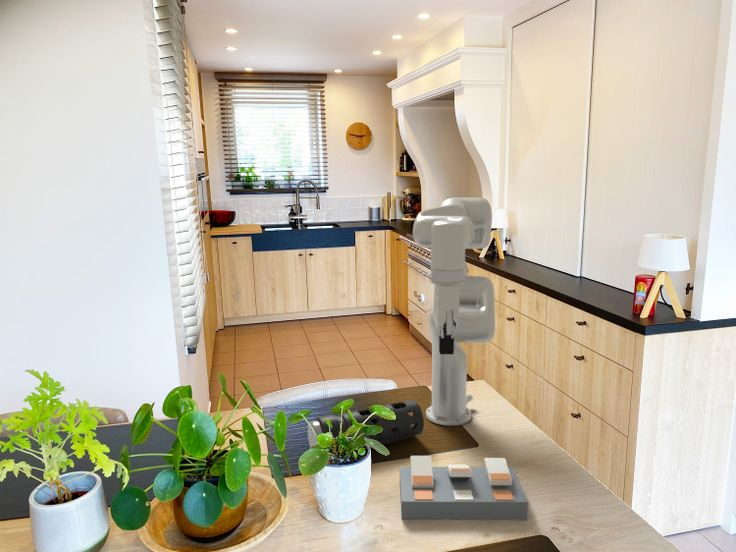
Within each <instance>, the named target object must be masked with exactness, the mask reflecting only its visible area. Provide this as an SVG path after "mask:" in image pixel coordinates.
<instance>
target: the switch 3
mask: <svg viewBox="0 0 736 552" xmlns="http://www.w3.org/2000/svg"><path fill="white" fill-rule="evenodd" d="M483 460H484V461H483V462H484V467H486V471H487V477H488V480H489V483H490V485H512V479H511V476H510V472H509V469H508V467H509V466H508V463H507V460H506V457H484V459H483Z"/></svg>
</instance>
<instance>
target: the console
mask: <svg viewBox="0 0 736 552" xmlns="http://www.w3.org/2000/svg"><path fill="white" fill-rule="evenodd" d="M469 468H470V469H471V470H472V477H469V479H450V478H449V473H448V471H447V466H432V473H433V488H412V480H411V466H399V493H400V494H399V495H400V516H401V520H417V521H418V520H422V521H423V520H426V521H427V520H429V521H430V520H433V521H434V520H437V521H439V520H442V521H444V520H445V521H446V520H447V521H448V520H450V521H453V520H455V521H456V520H459V521H461V520H463V521H528V515H529V514H528V513H529V500H528V499H527V496H526V494H525V491H524V490H523V487H522V484H521V482H520V480H519V477H518V476H517V473H516V470H515V468H514V467H513V466H508V469H509V472H510V476H511V479H512V485H490V483H489V480H488V477H487V471H486V467H485V466H469Z"/></svg>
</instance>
